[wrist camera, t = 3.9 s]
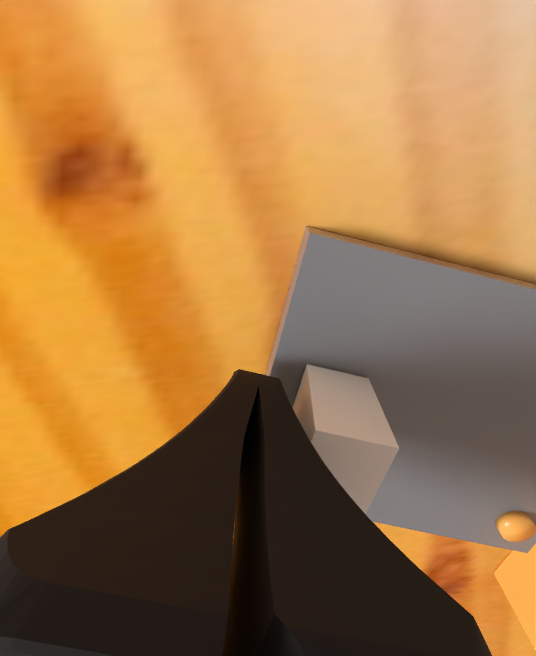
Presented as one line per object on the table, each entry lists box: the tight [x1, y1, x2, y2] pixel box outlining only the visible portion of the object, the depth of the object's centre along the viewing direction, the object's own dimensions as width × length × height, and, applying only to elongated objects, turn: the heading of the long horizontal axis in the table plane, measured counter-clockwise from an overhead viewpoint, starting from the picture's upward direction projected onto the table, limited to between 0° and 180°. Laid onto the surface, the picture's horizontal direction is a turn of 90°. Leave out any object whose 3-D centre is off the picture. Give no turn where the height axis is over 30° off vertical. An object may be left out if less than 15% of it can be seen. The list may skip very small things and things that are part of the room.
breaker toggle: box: [293, 364, 399, 514], centre depth 9 cm, size 2×2×3 cm
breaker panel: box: [266, 226, 536, 553], centre depth 12 cm, size 10×12×2 cm
